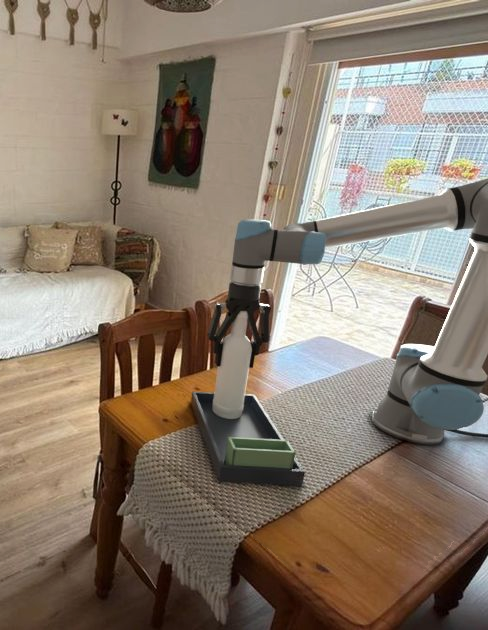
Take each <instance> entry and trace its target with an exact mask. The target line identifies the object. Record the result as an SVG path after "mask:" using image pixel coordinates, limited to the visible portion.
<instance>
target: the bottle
mask: <svg viewBox="0 0 488 630" xmlns="http://www.w3.org/2000/svg"><path fill="white" fill-rule="evenodd" d="M247 328H248V313H247V311H240V313H239V314H238V315H237V317H236V319H235V320H234V322H232V324H231V329H230V333H229V334H227V335H226V336H224V337H223V339H222V340H221V341H222V343H223V349H222V356H221V363H220V367H219V366H217V371H216V379H215V386H214V392H213V393H214V399H213V408H212V409H213V412H214V413H215V414H216V415H218V416H220V417H222V418H226V419H237V418H239V417H241V415H242V411H243V406H244V405H243V404H244V397H245V394H246V391H247V385H248V377H249V371H250V367H249V366H250V359H251V353H252V347H251V343H250V341H251V340H250V339H249V338H248V336H247V335H246V334H247Z"/></svg>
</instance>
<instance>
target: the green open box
mask: <svg viewBox="0 0 488 630" xmlns="http://www.w3.org/2000/svg"><path fill="white" fill-rule="evenodd" d="M295 457H296V451H295V449H294V448H293V446H292V445H291V443H290V442H289V440H288V439H284V440H278V439H259V438H240V437H228V439H227V445H226V452H225V459H224V464H225V465H233V466H251V467H268V468H285V469H292V467H293V462H294V458H295Z"/></svg>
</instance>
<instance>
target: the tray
mask: <svg viewBox="0 0 488 630" xmlns="http://www.w3.org/2000/svg"><path fill="white" fill-rule="evenodd" d="M190 398H191V399H190V404H191V407H192V410H193V414H194V417H195V419H196V421H197V424H198V427H199V429H200V430H199V431H200V432H201V435H202V438H203V441H204V443H205V446H206V449H207V452H208V455H209V458H210V460H211V463H212V466H213V468H214V472H215V474H216V476H217V479H218V482H225V483H226V482H228V483H240V484H241V483H243V484H258V485H276V486H288V487H289V486H291V487H292V486H293V487H303V483H304V478H305V474H306V471H305V470H304V468H303V466H302V465H301V463H300V462H299V460H298V459H297V457H296V456H295V458H294V462H293V467H292V469H285V468H268V467H251V466H233V465H225V464H224V459H225V452H226V445H227V439H228V437H240V438H259V439H278V440H285V439H284V437H283V436H282V434H281V433H280V431H279V430H278V428H277V427H276V425H275V424H274V422H273V420H272V419H271V418H270V416H269V414H268V413H267V411H266V410H265V408H264V406H263V405H262V403H261V402H260V400H259V399H258V398H257V396H256V394H255V393H253V394H251V393H248V394H247V393H245V397H244V404H243V405H244V406H243V411H242V415H241V417H239V418H237V419H226V418H222V417H220V416H218V415H216V414H215V413H214V412H213V409H212V408H213V399H214V392H207V391H192V392H191V397H190Z"/></svg>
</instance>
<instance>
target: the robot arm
mask: <svg viewBox="0 0 488 630" xmlns="http://www.w3.org/2000/svg"><path fill="white" fill-rule="evenodd" d="M440 229H446V230H447V231H449V232H455V231H459V230H460V231H461V230H469V229H472V232H471V234H470V236H469V239H468V241H469V242H470V244H471V245H472V246H473V247H474V252H473V254H472V256H471V258H470V261H469V263H468V266H467V268H466V271H465V273H464V275H463V277H462V280H461V283H460V285H459V288H458V289H457V292H456V294H455V297H454V300H453V302H452V304H451V306H450V309H449V311H448V314H447V316H446V317H445V318H446V319H445V321H444V323H443V326H442V329H441V330H440V333H439V335H438V338H437V340H436V343H435V345H434V346H433V345H427V344H421V343H420V344H419V343H405V344H402V345H400V347H399V350H398V352H397V354H396V359H395V361H394V366H393V368H392V374H391V376H390V381H389V384H388V388H387V389H388V390H387V392H386V394H385V396H384V397H383V398H382V399H381V401H380V402H379V404H378V405H377V406H376V407H375V408H374V410H373V412H372V415H371V422H372V423H373V424H374V426H376V427H377V428H378V429H379V430H381V431H382V432H384V433H386V434H387V435H389V436H392V437H394V438H397V439H399V440H401V441H405V442H410V443H411V444H412V443H413V444H419V445H437V444H439V443H441V442H442V441H443V439H444V437H445V436H444V435H445V431H446V432H450V433H455V434H458V435H463V436H469V437H477V438H487V439H488V433H481V432H480V433H479V432H473V431H465V430H461V429H462V428H468V427H470V426H472V425H474V424H476V423H477V422H478V421H479V420H480V419H481V417H482V416H483V414H484V411H485V407H484V406H485V405H484V400H483V398H482V397H481V396H480V394H481V392H482V390H483V388H484V386H485V384H486V381H487V380H488V374H487V373H486V372H485V370H484V369H483V366H484V364H485V361H486V359H487V357H488V178H485V179H481V180H478V181H473V182H470V183H466V184H463V185H459V186H454V187H449V188H445V189H444V190H443V191H442V192H441V193H439V194H438V195H437V194H436V195H433V196H429V197H423V198H418V199H414V200H409V201H404V202H399V203H395V204H390V205H384V206H378V207H374V208H370V209H365V210H359V211H355V212H350V213H346V214H345V213H344V214H341V215H335V216H331V217H326V218H320V219H316V220H312V221H305V222H302V223H301V222H294V223H290V224H287V225H286V226H285V227H283V228H282V229H274V228H272V222H271V221H269V220H267V219H259V218H247V219H246V218H245V219H241V220H240V221H239V222H238V223H237V227H236V232H235V237H234V246H233V252H232V253H233V254H232V262H231V270H230V278H229V279H230V282H229V284H228V291H227V297H226V300H225V302H217V301H215V302H214V303H213V314H212V317H211V321H210V324H209V327H208V331H207V334H206V336H207V338H208V340H209V341H211V342H213V344H212V352H213V354H214V355H215V356H214V357H215V358H214V363H215V365H216V367H218V366H219V367H220V363H221V356H222V349H223V343H222V341H223V339H224V338H225V335H226V334H227V332H228V330H229V329H230V327H231V326H232V322H234V320H235V319H236V317H237V315H238V314H239V313H240V311H247V313H248V322H247V324H248V326H249V330H250V333H251V336H252V339H253V340H250V343H251V347H252V353H251V359H250V366H249V369H253V368H254V365H255V364H254V363H255V359H256V358H255V357H256V356H259V354H260V350H261V349H260V348H261V346H262V345H263V344H264V343H266V344H267V343H269V341H270V331H269V330H270V322H269V319H270V317H269V315H270V313H271V310H272V308H271V306H270V305H269V304H267V303H260V298H261V291H262V285H261V284H262V283H263V279H264V273H265V265H266V261H267V262H278V263H286V264H287V263H288V264H298V265H303V266H306V265H313V266H314V265H315V266H316V265H317V266H318V265H320V264H321V263H322V262H323V259H324V257H325V252H326V249H330V248H331V249H332V248H337V247H343V246H348V245H354V244H359V243H365V242H371V241H376V240H383V239H388V238H394V237H400V236H406V235H411V234H412V235H413V234H417V233H423V232H428V231H434V230H440ZM225 308H226V310H227V313H226V314H225V318H224V320H223V321H222V322H221V325H220V326H219V323H220V320H221V317H222V312H224V311H225V310H224V309H225ZM258 310H259V312H260V333H259V330H258V326H257V324H256V323H257V322H256V318H255V315H254V314H255V313H256V312H257V311H258ZM218 326H219V328H218Z"/></svg>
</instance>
